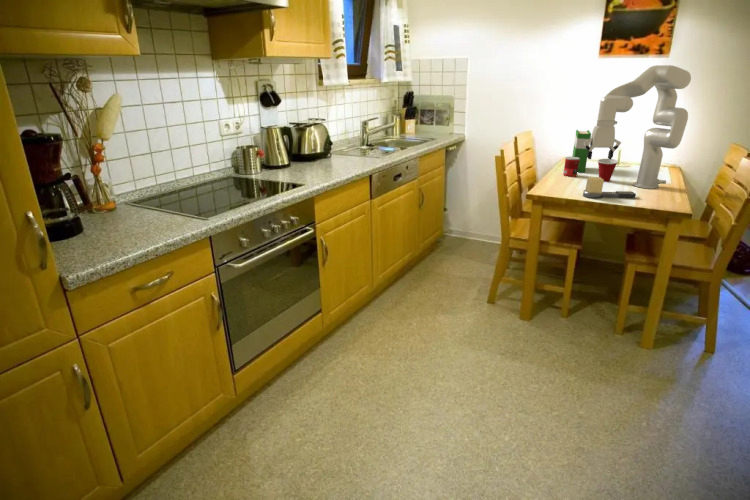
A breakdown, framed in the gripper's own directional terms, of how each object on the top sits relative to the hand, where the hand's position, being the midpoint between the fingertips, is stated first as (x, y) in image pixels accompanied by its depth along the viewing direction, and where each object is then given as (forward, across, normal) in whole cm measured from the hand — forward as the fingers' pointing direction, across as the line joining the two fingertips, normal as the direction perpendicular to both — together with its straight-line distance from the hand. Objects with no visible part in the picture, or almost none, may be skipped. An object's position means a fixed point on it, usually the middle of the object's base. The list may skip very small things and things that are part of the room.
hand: (599, 158), depth 226 cm
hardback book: (+20, -11, -65) cm, 69 cm away
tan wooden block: (+17, 0, 0) cm, 17 cm away
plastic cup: (+20, -17, -36) cm, 44 cm away
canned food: (+20, -2, -48) cm, 52 cm away
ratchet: (+19, -7, 0) cm, 21 cm away
